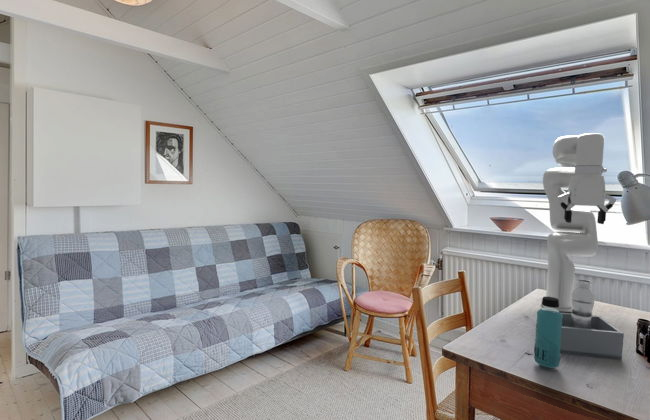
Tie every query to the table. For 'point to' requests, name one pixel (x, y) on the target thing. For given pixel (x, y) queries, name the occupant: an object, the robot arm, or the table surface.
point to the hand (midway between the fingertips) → (584, 222)
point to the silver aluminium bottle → (582, 305)
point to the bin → (591, 339)
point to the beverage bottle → (548, 334)
